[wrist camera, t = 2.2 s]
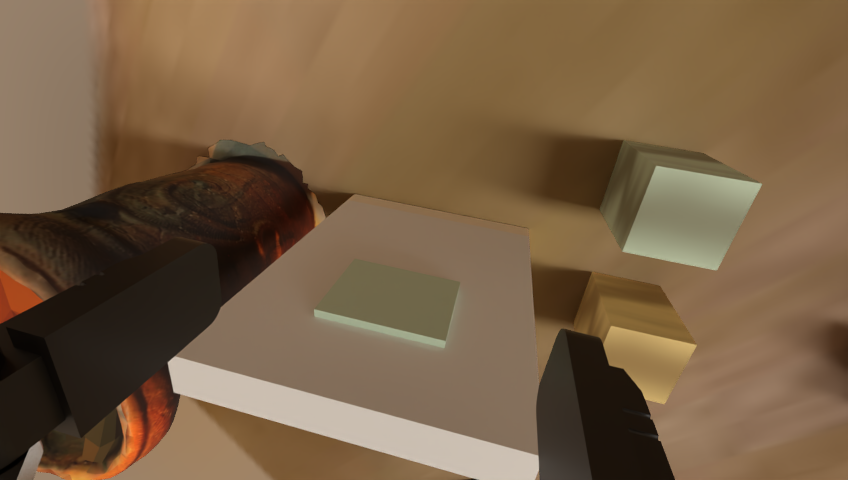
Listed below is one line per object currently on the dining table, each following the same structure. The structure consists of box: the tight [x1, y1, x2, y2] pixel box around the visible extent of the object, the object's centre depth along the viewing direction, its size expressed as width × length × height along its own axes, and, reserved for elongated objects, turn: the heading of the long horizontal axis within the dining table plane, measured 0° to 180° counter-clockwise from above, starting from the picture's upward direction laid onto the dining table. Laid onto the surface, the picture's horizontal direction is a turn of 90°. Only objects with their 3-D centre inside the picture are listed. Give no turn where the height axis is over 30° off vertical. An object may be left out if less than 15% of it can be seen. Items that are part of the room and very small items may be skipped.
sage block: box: [600, 140, 762, 270], centre depth 24 cm, size 5×5×7 cm
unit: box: [168, 194, 539, 480], centre depth 26 cm, size 14×14×20 cm
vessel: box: [0, 140, 326, 480], centre depth 26 cm, size 14×14×20 cm
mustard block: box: [573, 272, 697, 404], centre depth 28 cm, size 5×5×7 cm
